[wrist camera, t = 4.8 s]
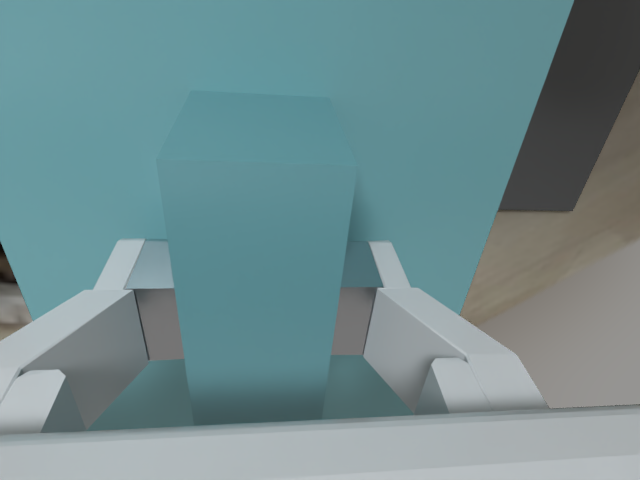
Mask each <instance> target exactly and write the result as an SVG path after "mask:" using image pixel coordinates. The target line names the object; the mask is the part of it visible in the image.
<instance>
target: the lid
mask: <svg viewBox="0 0 640 480" xmlns="http://www.w3.org/2000/svg"><path fill="white" fill-rule="evenodd" d="M573 2H574V0H0V242H1V244H2V247H3V249H4V251H5V254H6V256H7V259H8V261H9V264H10V266H11V268H12V271H13V273H14V276H15V278H16V281H17V283H18V286H19V288H20V290H21V293H22V295H23V298H24V300H25V303H26V305H27V307H28V310H29V312H30V315H31V317H32V320H33V321H34V320H36V319H38V318H39V317H41V316H43V315H44V314H46V313H47V312H49V311H51V310H52V309H54V308H56V307H57V306H59V305H61V304H62V303H64V302H66V301H67V300H69V299H71V298H72V297H74V296H75V295H77V294H79V293H80V292H82V291H84V290H93V288H94V286H95V284H96V282H97V280H98V279H99V277H100V275H101V273H102V271H103V269H104V267H105V265H106V263H107V261H108V259H109V257H110V255H111V253H112V251H113V249H114V247H115V245H116V243H117V241H118V240H120V239H122V238H145V239H167V241H168V248H169V255H170V262H171V269H172V276H173V282H174V289H175V296H176V303H177V310H178V317H179V324H180V331H181V338H182V345H183V352H184V359H175V360H156V361H148V362H149V364H148V365H147V366H146V367H145V368H144V369H143V370H142V371H141V372H140V373H139V374H138V376H137V377H136V378H135V379H134V380H133V381H132V382H131V383H130V384H129V385H128V386H127V387H126V388H125V389H124V390H123V392H122V393H121V394H120V395H119V396H118V397H117V398H116V399H115V400H114V401H113V402H112V403H111V404H110V405H109V407H108V408H107V409H106V410H105V411H104V412H103V413H102V414H101V415H100V416H99V417H98V418H97V419H96V420H95V422H94V423H93V424H92V425H91V426H90V427H89V428H88V429H87V431H97V430H117V429H138V428H159V427H179V426H200V425H221V424H241V423H262V422H282V421H303V420H324V419H345V418H365V417H386V416H407V415H414V413H413V412H412V411H411V410H410V409H409V408H408V406H407V405H406V404H405V403H404V402H403V401H402V400H401V399H400V398H399V396H398V395H397V394H396V393H395V392H394V391H393V390H392V389H391V387H390V386H389V385H388V384H387V383H386V382H385V381H384V380H383V378H382V377H381V376H380V375H379V374H378V373H377V372H376V371H375V369H374V368H373V367H372V366H371V365H370V364H369V363H368V362H367V360H366V359H365V358H364V357H363V355H331V351H332V344H333V337H334V330H335V323H336V316H337V309H338V302H339V295H340V288H341V281H342V274H343V267H344V260H345V253H346V246H347V241H378V240H389V241H390V242H392V245H393V247H394V249H395V252H396V254H397V256H398V258H399V261H400V263H401V265H402V268H403V270H404V272H405V274H406V277H407V279H408V281H409V284H410V286H411V288H419V289H421V290H422V291H424V292H425V293H427V294H428V295H430V296H431V297H433V298H434V299H435V300H437V301H438V302H440V303H441V304H443V305H444V306H446V307H447V308H449V309H450V310H452V311H453V312H455V313H456V314H458V315H460V312H461V309H462V307H463V304H464V301H465V298H466V296H467V293H468V290H469V287H470V285H471V282H472V279H473V276H474V274H475V271H476V268H477V265H478V263H479V260H480V257H481V254H482V252H483V249H484V246H485V244H486V241H487V238H488V235H489V233H490V230H491V227H492V224H493V222H494V219H495V216H496V213H497V211H498V208H499V205H500V202H501V200H502V197H503V194H504V191H505V189H506V186H507V183H508V180H509V178H510V175H511V172H512V170H513V167H514V164H515V161H516V159H517V156H518V153H519V150H520V148H521V145H522V142H523V139H524V137H525V134H526V131H527V128H528V126H529V123H530V120H531V117H532V115H533V112H534V109H535V106H536V104H537V101H538V98H539V95H540V93H541V90H542V87H543V85H544V82H545V79H546V76H547V74H548V71H549V68H550V65H551V63H552V60H553V57H554V54H555V52H556V49H557V46H558V43H559V41H560V38H561V35H562V32H563V30H564V27H565V24H566V21H567V19H568V16H569V13H570V11H571V8H572V5H573Z"/></svg>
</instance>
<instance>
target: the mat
mask: <svg viewBox="0 0 640 480" xmlns="http://www.w3.org/2000/svg"><path fill="white" fill-rule="evenodd" d="M639 70H640V0H574V2H573V5H572V8H571V11H570V13H569V16H568V19H567V21H566V24H565V27H564V30H563V32H562V35H561V38H560V41H559V43H558V46H557V49H556V52H555V54H554V57H553V60H552V63H551V65H550V68H549V71H548V74H547V76H546V79H545V82H544V85H543V87H542V90H541V93H540V95H539V98H538V101H537V104H536V106H535V109H534V112H533V115H532V117H531V120H530V123H529V126H528V128H527V131H526V134H525V137H524V139H523V142H522V145H521V148H520V150H519V153H518V156H517V159H516V161H515V164H514V167H513V170H512V172H511V175H510V178H509V180H508V183H507V186H506V189H505V191H504V194H503V197H502V200H501V202H500V205H499V208H498V210H550V211H573V209H574V207H575V205H576V203H577V201H578V198H579V196H580V194H581V192H582V190H583V188H584V186H585V184H586V182H587V179H588V177H589V175H590V173H591V171H592V169H593V167H594V165H595V163H596V160H597V158H598V156H599V154H600V152H601V150H602V148H603V146H604V144H605V141H606V139H607V137H608V135H609V133H610V131H611V129H612V127H613V124H614V122H615V120H616V118H617V116H618V114H619V112H620V110H621V108H622V105H623V103H624V101H625V99H626V97H627V95H628V93H629V91H630V89H631V86H632V84H633V82H634V80H635V78H636V76H637V74H638V72H639Z"/></svg>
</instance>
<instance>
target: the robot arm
mask: <svg viewBox="0 0 640 480" xmlns="http://www.w3.org/2000/svg"><path fill="white" fill-rule="evenodd" d="M331 355H363V357H364V358H365V359H366V360H367V362H368V363H369V364H370V365H371V366H372V367H373V368H374V369H375V371H376V372H377V373H378V374H379V375H380V376H381V377H382V378H383V380H384V381H385V382H386V383H387V384H388V385H389V386H390V387H391V389H392V390H393V391H394V392H395V393H396V394H397V395H398V396H399V398H400V399H401V400H402V401H403V402H404V403H405V404H406V405H407V406H408V408H409V409H410V410H411V411H412V412H413V413H414V415H407V416H386V417H365V418H345V419H324V420H303V421H282V422H262V423H241V424H221V425H200V426H179V427H159V428H138V429H117V430H97V431H87V429H88V428H89V427H90V426H91V425H92V424H93V423H94V422H95V420H96V419H97V418H98V417H99V416H100V415H101V414H102V413H103V412H104V411H105V410H106V409H107V408H108V407H109V405H110V404H111V403H112V402H113V401H114V400H115V399H116V398H117V397H118V396H119V395H120V394H121V393H122V392H123V390H124V389H125V388H126V387H127V386H128V385H129V384H130V383H131V382H132V381H133V380H134V379H135V378H136V377H137V376H138V374H139V373H140V372H141V371H142V370H143V369H144V368H145V367H146V366H147V365H148V364H149V362H148V361H156V360H175V359H184V352H183V345H182V338H181V331H180V324H179V317H178V310H177V303H176V296H175V289H174V282H173V276H172V269H171V262H170V255H169V248H168V241H167V239H145V238H122V239H120V240H118V241H117V243H116V245H115V247H114V249H113V251H112V253H111V255H110V257H109V259H108V261H107V263H106V265H105V267H104V269H103V271H102V273H101V275H100V277H99V279H98V280H97V282H96V284H95V286H94V288H93V290H84V291H82V292H80V293H79V294H77V295H75V296H74V297H72V298H71V299H69V300H67V301H66V302H64V303H62V304H61V305H59V306H57V307H56V308H54V309H52V310H51V311H49V312H47V313H46V314H44V315H43V316H41V317H39V318H38V319H36V320H34V321H33V322H31V323H29V324H28V325H26V326H24V327H23V328H21V329H20V330H18V331H16V332H15V333H13V334H11V335H10V336H8V337H6V338H5V339H3V340H1V341H0V480H640V404H636V405H615V406H594V407H573V408H553V409H550V408H549V406H548V405H547V403H546V401H545V400H544V398H543V396H542V395H541V393H540V392H539V390H538V388H537V387H536V385H535V383H534V382H533V380H532V379H531V377H530V375H529V374H528V372H527V370H526V369H525V367H524V366H523V364H522V362H521V361H520V359H519V357H518V356H517V354H515V353H514V352H512V351H511V350H509V349H508V348H506V347H505V346H503V345H502V344H500V343H499V342H497V341H496V340H495V339H493V338H492V337H490V336H488V335H487V334H486V333H484V332H483V331H481V330H480V329H478V328H477V327H475V326H474V325H472V324H471V323H469V322H468V321H466V320H465V319H464V318H462V317H461V316H459V315H458V314H456V313H455V312H453V311H452V310H450V309H449V308H447V307H446V306H444V305H443V304H441V303H440V302H438V301H437V300H435V299H434V298H433V297H431V296H430V295H428V294H427V293H425V292H424V291H422V290H421V289H419V288H411V286H410V284H409V281H408V279H407V277H406V274H405V272H404V270H403V268H402V265H401V263H400V261H399V258H398V256H397V254H396V252H395V249H394V247H393V245H392V242H390V241H389V240H378V241H347V246H346V253H345V260H344V267H343V274H342V281H341V288H340V295H339V302H338V309H337V316H336V323H335V330H334V337H333V344H332V351H331Z"/></svg>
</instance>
